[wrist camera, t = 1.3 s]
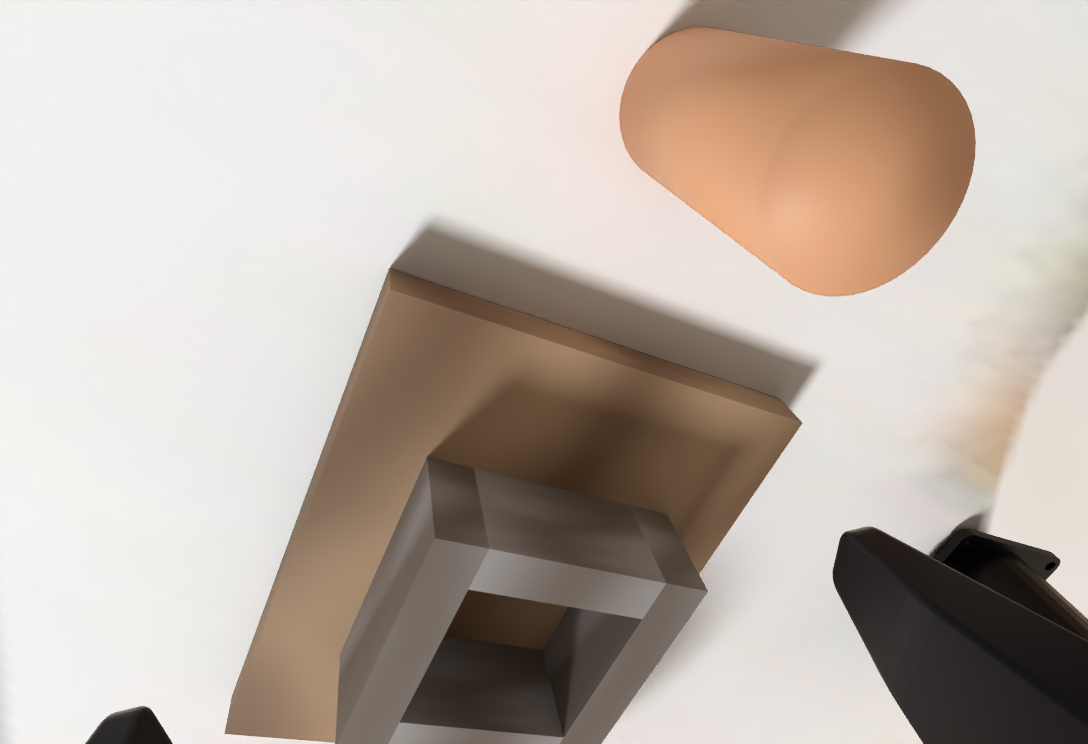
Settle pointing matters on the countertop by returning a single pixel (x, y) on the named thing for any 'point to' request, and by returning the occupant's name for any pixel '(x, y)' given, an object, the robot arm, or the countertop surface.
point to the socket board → (498, 531)
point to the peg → (803, 151)
